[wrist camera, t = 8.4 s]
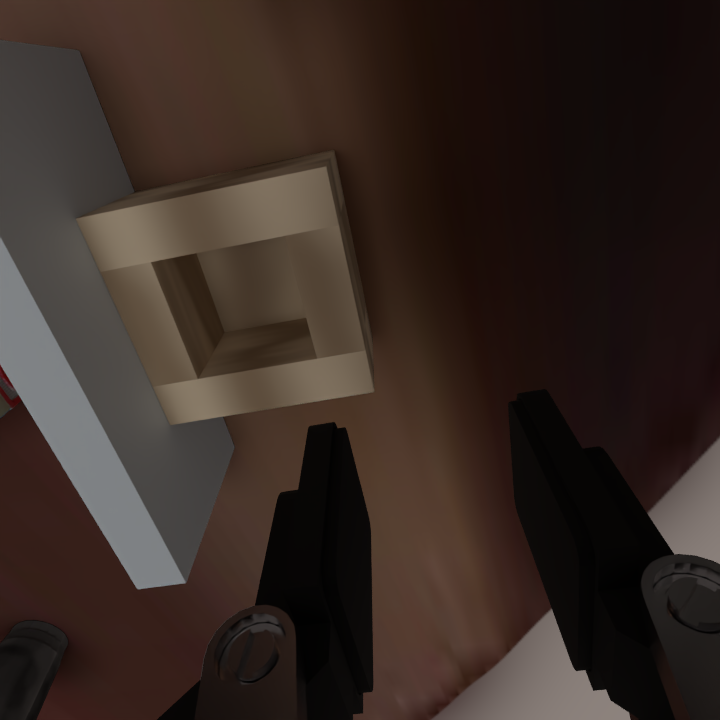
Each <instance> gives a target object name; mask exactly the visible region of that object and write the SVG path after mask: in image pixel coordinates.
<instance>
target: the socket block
mask: <svg viewBox="0 0 720 720" xmlns="http://www.w3.org/2000/svg"><path fill="white" fill-rule="evenodd" d="M76 220H77V223H78V225H79V227H80V229H81V231H82V234H83V236H84V238H85V240H86V242H87V245H88V247H89V249H90V251H91V253H92V255H93V258H94V260H95V262H96V264H97V266H98V269H99V271H100V273H101V275H102V277H103V280H104V282H105V284H106V286H107V288H108V290H109V293H110V295H111V297H112V299H113V301H114V304H115V306H116V308H117V310H118V312H119V314H120V317H121V319H122V321H123V323H124V325H125V328H126V330H127V332H128V334H129V336H130V339H131V341H132V343H133V345H134V347H135V349H136V352H137V354H138V356H139V358H140V360H141V363H142V365H143V367H144V369H145V371H146V374H147V376H148V378H149V380H150V382H151V384H152V387H153V389H154V391H155V393H156V395H157V398H158V400H159V402H160V404H161V406H162V409H163V411H164V413H165V415H166V417H167V419H168V422H169V424H170V425H174V424H180V423H187V422H193V421H199V420H205V419H211V418H217V417H224V416H230V415H236V414H242V413H248V412H254V411H261V410H267V409H273V408H279V407H285V406H291V405H298V404H304V403H310V402H316V401H322V400H328V399H335V398H341V397H347V396H353V395H359V394H365V393H372V392H374V366H373V337H372V332H371V328H370V323H369V318H368V313H367V308H366V303H365V298H364V293H363V288H362V283H361V278H360V274H359V269H358V264H357V259H356V254H355V249H354V244H353V239H352V234H351V229H350V224H349V220H348V215H347V210H346V205H345V200H344V195H343V190H342V185H341V180H340V175H339V170H338V166H337V161H336V156H335V151H334V150H330V151H325V152H321V153H316V154H311V155H306V156H302V157H297V158H292V159H287V160H283V161H278V162H273V163H269V164H264V165H259V166H254V167H250V168H245V169H240V170H235V171H231V172H226V173H221V174H216V175H212V176H207V177H202V178H197V179H193V180H188V181H183V182H179V183H174V184H169V185H164V186H160V187H155V188H150V189H145V190H141V191H136V192H133V193H131V194H129V195H127V196H125V197H122V198H120V199H118V200H116V201H113V202H111V203H109V204H107V205H105V206H102V207H100V208H98V209H96V210H94V211H91V212H89V213H87V214H85V215H83V216H80V217H78V218H76Z"/></svg>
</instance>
